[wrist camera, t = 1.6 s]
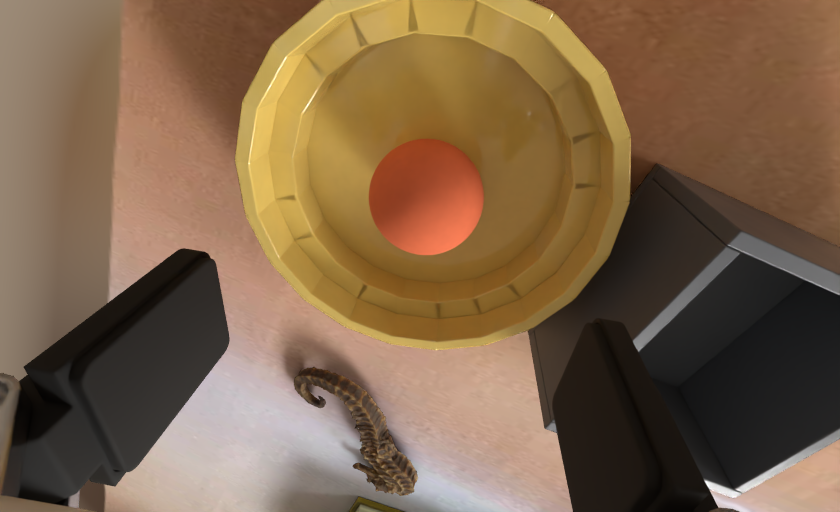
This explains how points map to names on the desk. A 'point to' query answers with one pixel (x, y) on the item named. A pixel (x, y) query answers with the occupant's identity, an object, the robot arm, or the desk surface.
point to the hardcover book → (370, 506)
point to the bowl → (447, 121)
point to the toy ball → (426, 196)
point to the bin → (717, 327)
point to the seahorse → (364, 430)
